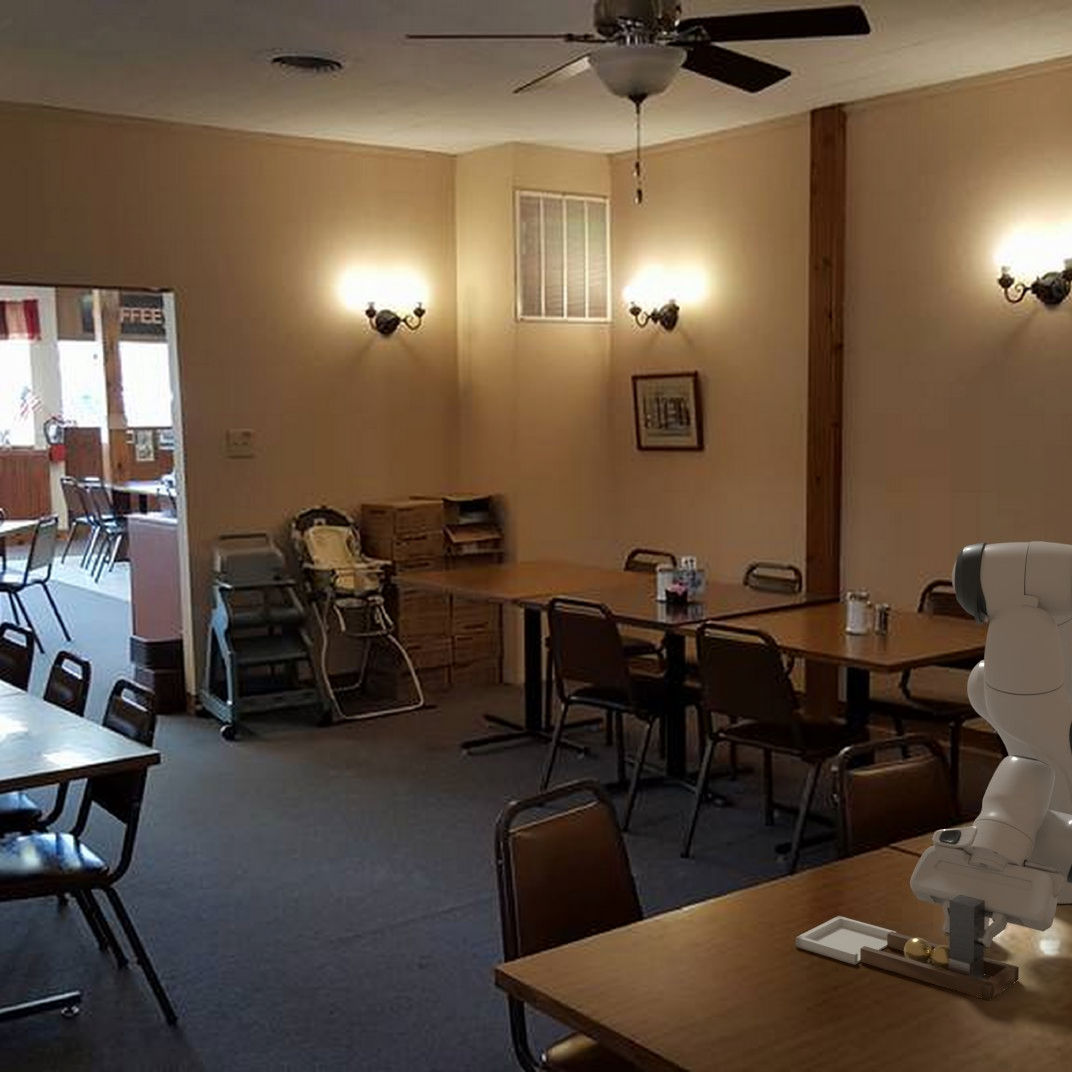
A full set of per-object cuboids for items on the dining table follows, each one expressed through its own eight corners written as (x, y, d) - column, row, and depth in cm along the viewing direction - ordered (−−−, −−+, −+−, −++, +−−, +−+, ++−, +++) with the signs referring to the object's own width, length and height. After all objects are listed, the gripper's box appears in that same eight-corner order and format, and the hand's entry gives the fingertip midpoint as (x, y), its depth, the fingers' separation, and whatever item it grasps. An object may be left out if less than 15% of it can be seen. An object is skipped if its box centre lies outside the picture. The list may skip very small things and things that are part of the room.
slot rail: (891, 944, 197) (891, 931, 197) (1018, 980, 183) (1018, 966, 183) (860, 961, 191) (860, 948, 191) (989, 1000, 177) (989, 986, 177)
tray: (838, 925, 205) (838, 915, 205) (896, 941, 198) (896, 931, 198) (795, 946, 197) (795, 937, 197) (854, 964, 190) (854, 954, 190)
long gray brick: (961, 968, 186) (962, 893, 185) (986, 975, 184) (986, 899, 183) (947, 978, 183) (947, 901, 182) (971, 985, 181) (972, 908, 180)
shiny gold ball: (917, 963, 191) (908, 935, 192) (941, 960, 189) (932, 932, 189) (903, 971, 189) (894, 943, 189) (927, 968, 186) (918, 940, 187)
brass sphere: (947, 972, 188) (933, 945, 189) (969, 964, 186) (955, 937, 187) (933, 981, 185) (919, 954, 187) (956, 973, 183) (942, 946, 184)
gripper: (1075, 881, 183) (1045, 970, 177) (939, 850, 198) (906, 932, 191) (1062, 858, 180) (1031, 948, 174) (924, 828, 194) (891, 911, 188)
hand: (964, 939), depth 183 cm, fingers closed on long gray brick, 4 cm apart
